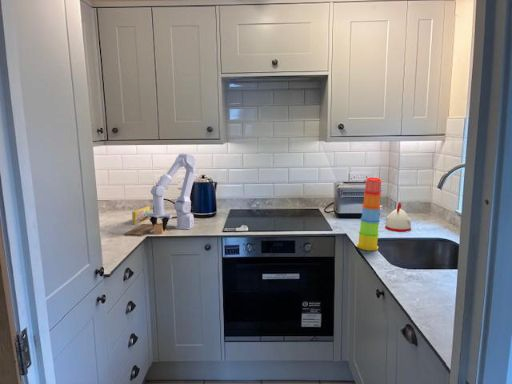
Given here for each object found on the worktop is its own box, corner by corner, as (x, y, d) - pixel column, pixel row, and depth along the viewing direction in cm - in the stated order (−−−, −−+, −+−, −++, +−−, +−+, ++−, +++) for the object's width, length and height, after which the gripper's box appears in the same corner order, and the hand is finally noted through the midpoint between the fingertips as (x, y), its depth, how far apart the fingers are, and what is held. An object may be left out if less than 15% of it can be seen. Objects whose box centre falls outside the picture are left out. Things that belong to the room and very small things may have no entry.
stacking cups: (372, 243, 191) (375, 176, 185) (382, 250, 181) (386, 179, 175) (353, 244, 189) (356, 176, 183) (362, 251, 179) (365, 180, 173)
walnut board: (158, 226, 227) (158, 224, 226) (141, 236, 207) (140, 234, 207) (143, 225, 229) (142, 223, 229) (124, 235, 210) (124, 233, 209)
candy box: (135, 225, 231) (134, 212, 229) (132, 224, 232) (131, 211, 230) (150, 218, 246) (149, 206, 244) (147, 218, 247) (147, 206, 245)
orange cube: (166, 231, 216) (165, 222, 215) (162, 233, 212) (161, 225, 211) (158, 230, 217) (157, 222, 217) (154, 233, 213) (153, 224, 212)
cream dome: (412, 227, 219) (414, 202, 217) (408, 233, 208) (410, 207, 205) (387, 224, 226) (389, 200, 224) (382, 230, 215) (384, 204, 212)
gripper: (143, 207, 210) (145, 231, 212) (167, 208, 206) (168, 232, 209) (149, 205, 216) (151, 227, 219) (173, 206, 213) (174, 229, 216)
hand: (160, 229), depth 214 cm, fingers closed on orange cube, 5 cm apart
